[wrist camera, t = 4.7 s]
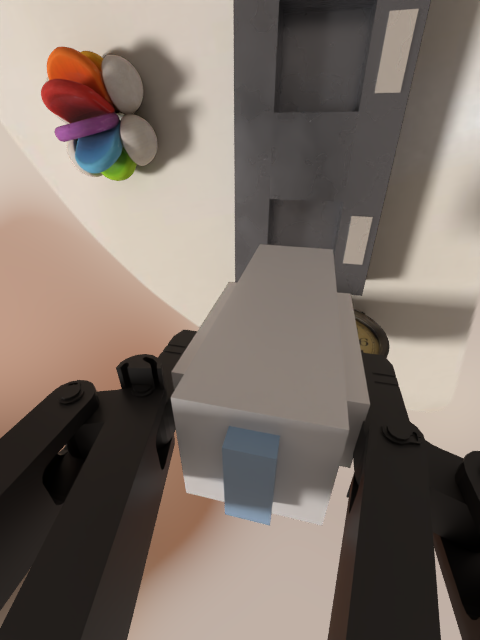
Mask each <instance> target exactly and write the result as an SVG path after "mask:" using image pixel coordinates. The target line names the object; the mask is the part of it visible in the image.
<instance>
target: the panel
mask: <svg viewBox="0 0 480 640" xmlns="http://www.w3.org/2000/svg"><path fill="white" fill-rule="evenodd" d="M430 2H431V0H234V144H235V283H237V282H238V281H239V279H240V277H241V276H242V274H243V272H244V270H245V269H246V267H247V265H248V264H249V262H250V260H251V258H252V257H253V255H254V253H255V252H256V250H257V248H258V246H259V245H260V244H264V245H278V246H292V247H306V248H321V249H333V254H334V265H335V276H336V287H337V292H338V293H348V294H351V295H361V296H362V293H363V289H364V285H365V280H366V276H367V272H368V268H369V263H370V259H371V255H372V250H373V246H374V242H375V238H376V233H377V229H378V225H379V220H380V216H381V212H382V208H383V203H384V199H385V195H386V190H387V186H388V182H389V177H390V173H391V169H392V165H393V160H394V156H395V152H396V147H397V143H398V139H399V135H400V130H401V126H402V122H403V117H404V113H405V109H406V105H407V100H408V96H409V92H410V87H411V83H412V79H413V75H414V70H415V66H416V62H417V57H418V53H419V49H420V44H421V40H422V36H423V32H424V27H425V23H426V19H427V14H428V10H429V6H430Z"/></svg>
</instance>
